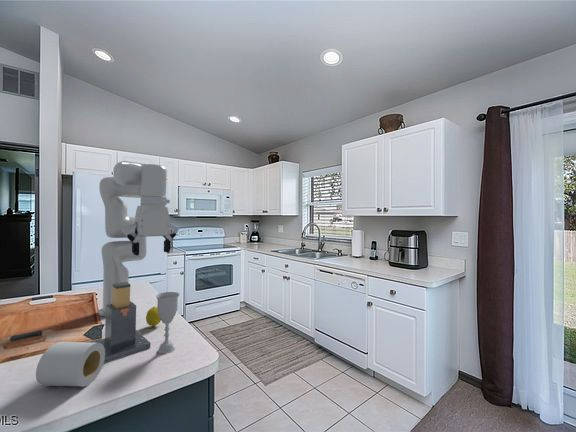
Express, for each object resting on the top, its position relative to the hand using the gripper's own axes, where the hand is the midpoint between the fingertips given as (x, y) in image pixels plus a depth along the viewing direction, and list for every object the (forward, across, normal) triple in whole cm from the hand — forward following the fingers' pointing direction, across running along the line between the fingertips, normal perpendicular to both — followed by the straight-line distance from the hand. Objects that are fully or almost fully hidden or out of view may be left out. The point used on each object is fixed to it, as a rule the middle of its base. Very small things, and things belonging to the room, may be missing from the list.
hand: (151, 253), depth 89 cm
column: (+29, +7, -6) cm, 31 cm away
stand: (+31, +7, -6) cm, 33 cm away
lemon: (+32, -7, -15) cm, 36 cm away
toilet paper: (+32, +21, +5) cm, 38 cm away
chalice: (+32, -3, +6) cm, 32 cm away
